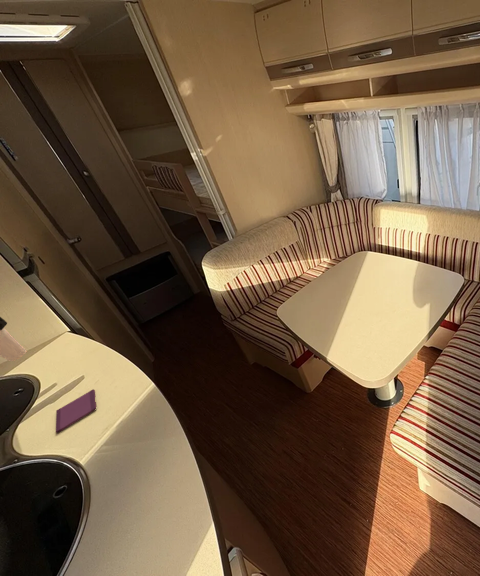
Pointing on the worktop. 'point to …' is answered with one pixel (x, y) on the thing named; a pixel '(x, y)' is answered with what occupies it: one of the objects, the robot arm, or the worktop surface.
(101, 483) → the worktop surface
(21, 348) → the smoothie
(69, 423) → the towel mat
